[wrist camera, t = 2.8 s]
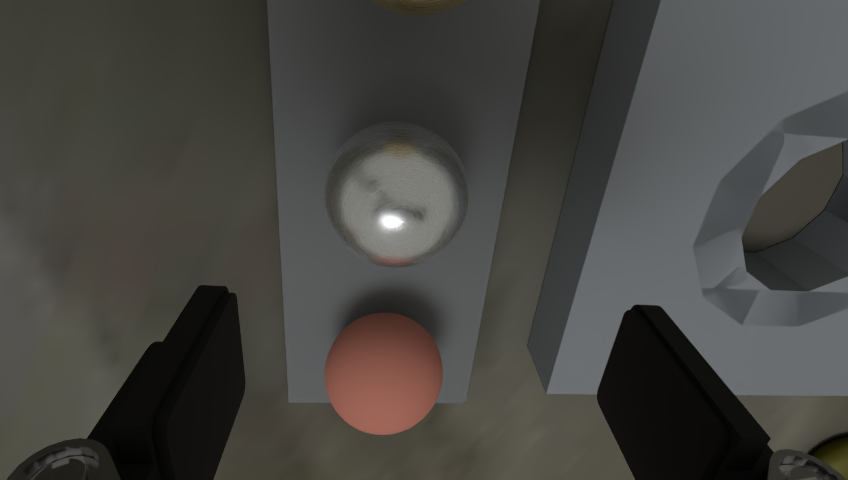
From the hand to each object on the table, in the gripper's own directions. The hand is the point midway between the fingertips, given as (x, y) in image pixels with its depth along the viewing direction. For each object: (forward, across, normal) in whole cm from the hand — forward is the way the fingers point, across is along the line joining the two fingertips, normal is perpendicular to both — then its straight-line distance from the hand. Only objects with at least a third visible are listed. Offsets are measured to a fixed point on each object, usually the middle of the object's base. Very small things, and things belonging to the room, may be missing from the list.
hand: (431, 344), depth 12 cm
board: (+12, -17, 0) cm, 21 cm away
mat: (+11, +1, 0) cm, 11 cm away
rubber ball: (+8, +1, +8) cm, 12 cm away
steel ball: (+8, +1, 0) cm, 8 cm away
